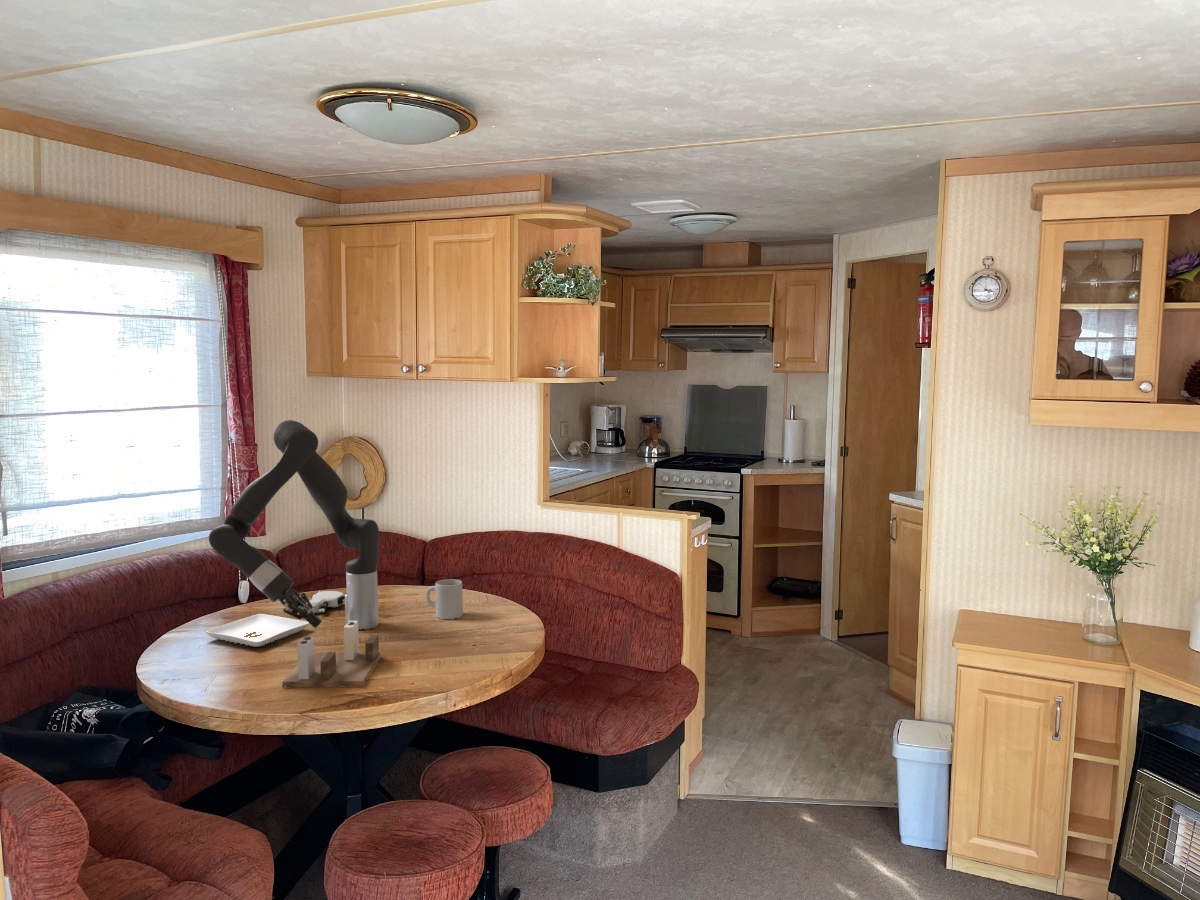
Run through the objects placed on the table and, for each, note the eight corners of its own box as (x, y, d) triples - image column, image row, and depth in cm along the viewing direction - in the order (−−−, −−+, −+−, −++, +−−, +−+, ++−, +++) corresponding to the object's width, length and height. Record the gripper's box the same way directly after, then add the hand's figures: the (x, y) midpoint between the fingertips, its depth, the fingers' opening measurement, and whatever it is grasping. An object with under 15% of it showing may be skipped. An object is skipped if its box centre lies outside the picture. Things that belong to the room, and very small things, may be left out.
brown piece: (282, 687, 224) (281, 662, 224) (308, 657, 246) (307, 634, 245) (362, 686, 225) (361, 661, 224) (381, 657, 247) (380, 634, 246)
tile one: (344, 660, 239) (343, 626, 238) (350, 652, 245) (349, 619, 244) (353, 660, 239) (352, 626, 238) (358, 652, 245) (357, 619, 244)
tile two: (298, 679, 225) (297, 643, 224) (305, 671, 231) (304, 636, 230) (308, 679, 225) (307, 643, 224) (315, 670, 231) (313, 635, 230)
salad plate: (312, 631, 271) (311, 620, 270) (258, 653, 252) (258, 641, 251) (259, 622, 280) (259, 612, 279) (204, 642, 260) (203, 631, 260)
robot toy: (324, 620, 285) (352, 604, 298) (323, 606, 284) (351, 591, 298) (292, 616, 289) (321, 600, 303) (291, 602, 288) (320, 588, 302)
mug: (467, 613, 289) (466, 579, 288) (456, 620, 281) (456, 586, 279) (432, 610, 292) (431, 577, 290) (421, 618, 283) (420, 584, 282)
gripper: (272, 576, 233) (321, 622, 234) (288, 565, 246) (335, 608, 247) (252, 596, 233) (301, 642, 235) (270, 584, 246) (316, 627, 248)
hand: (318, 624), depth 241 cm, fingers closed
